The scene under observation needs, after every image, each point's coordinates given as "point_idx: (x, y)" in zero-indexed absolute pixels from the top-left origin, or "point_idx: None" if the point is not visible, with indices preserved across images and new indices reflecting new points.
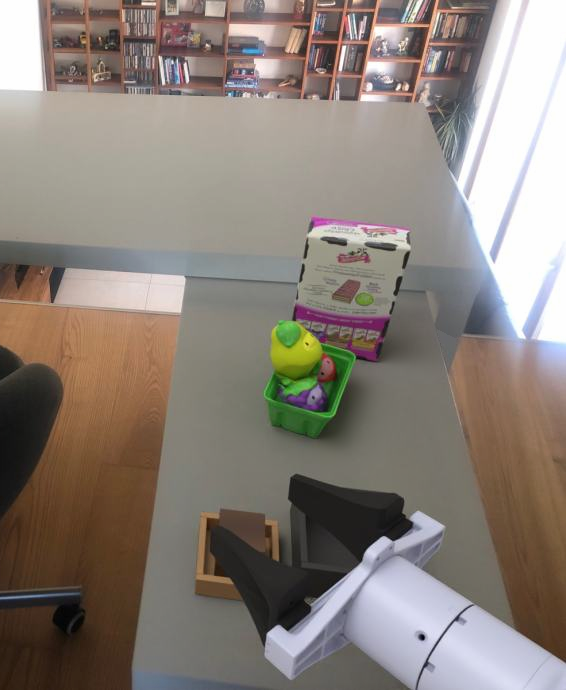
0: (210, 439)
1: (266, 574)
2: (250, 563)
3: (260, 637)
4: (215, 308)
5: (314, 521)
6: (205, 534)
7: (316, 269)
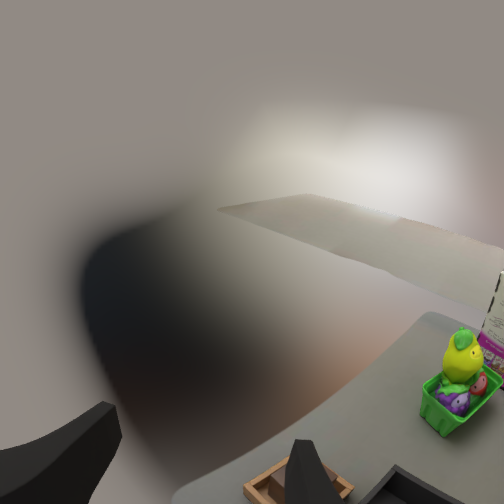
0: (366, 404)
1: (3, 457)
2: (31, 442)
3: None
4: (432, 327)
5: (389, 500)
6: (286, 463)
7: (501, 303)
